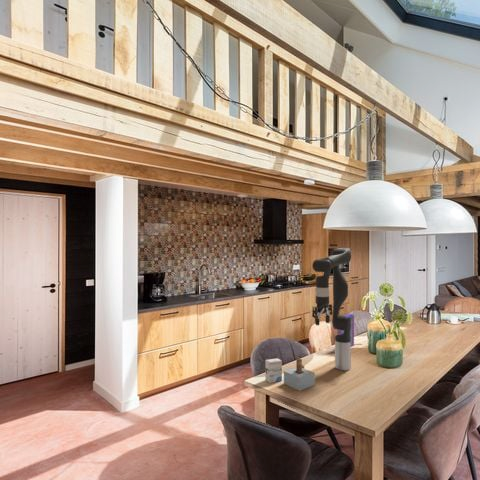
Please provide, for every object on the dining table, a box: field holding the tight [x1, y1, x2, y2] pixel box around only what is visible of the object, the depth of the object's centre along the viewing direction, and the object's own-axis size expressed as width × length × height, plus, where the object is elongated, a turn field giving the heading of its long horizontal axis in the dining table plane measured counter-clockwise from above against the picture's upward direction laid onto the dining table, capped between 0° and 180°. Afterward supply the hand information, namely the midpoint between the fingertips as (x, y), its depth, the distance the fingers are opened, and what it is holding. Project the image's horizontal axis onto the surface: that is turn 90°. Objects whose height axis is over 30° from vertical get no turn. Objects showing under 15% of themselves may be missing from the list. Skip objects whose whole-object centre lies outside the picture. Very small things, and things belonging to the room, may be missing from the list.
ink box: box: [264, 357, 283, 384], centre depth 202 cm, size 8×5×12 cm, turn 111°
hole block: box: [283, 367, 316, 392], centre depth 196 cm, size 12×12×7 cm
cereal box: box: [336, 313, 355, 348], centre depth 267 cm, size 17×5×24 cm, turn 136°
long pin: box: [295, 358, 303, 374], centre depth 196 cm, size 3×3×14 cm
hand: (322, 324), depth 197 cm, fingers open, 8 cm apart
